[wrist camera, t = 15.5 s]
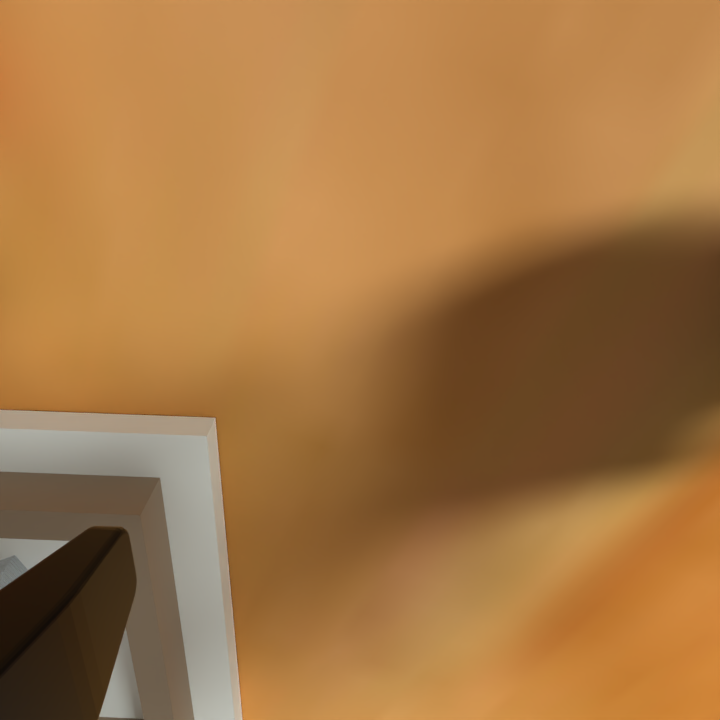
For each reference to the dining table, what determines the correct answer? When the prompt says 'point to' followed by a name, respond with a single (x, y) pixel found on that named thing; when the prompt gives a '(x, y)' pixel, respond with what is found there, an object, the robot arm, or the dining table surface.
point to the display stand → (135, 544)
